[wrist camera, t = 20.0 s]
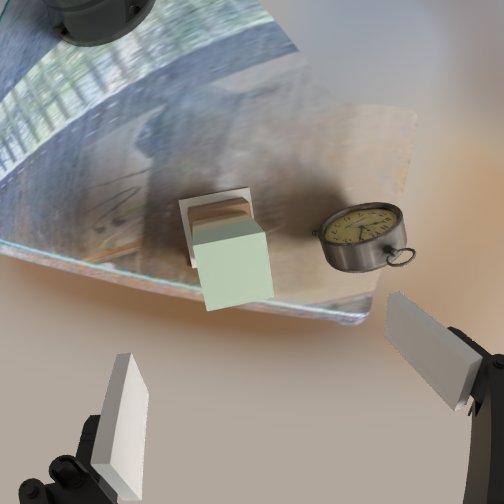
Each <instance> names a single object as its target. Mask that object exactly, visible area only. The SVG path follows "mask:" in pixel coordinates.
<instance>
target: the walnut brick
mask: <svg viewBox="0 0 504 504" xmlns="http://www.w3.org/2000/svg"><path fill="white" fill-rule="evenodd" d="M241 212H247V214H248V215H249V216H250V217H251V218H252V215H251V209H250V203H249V202H248V201H247V200H246V199H245V198H244V197H239V198H234V199H228V200H223V201H217V202H212V203H207V204H201V205H196V206H191V207H188V212H187V215H188V221H189V226H190V231H191V236H192V232H193V222H194V221H199V220H204V219H209V218H214V217H219V216H225V215H230V214H235V213H241Z"/></svg>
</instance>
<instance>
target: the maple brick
mask: <svg viewBox="0 0 504 504" xmlns="http://www.w3.org/2000/svg"><path fill="white" fill-rule="evenodd" d="M250 220H253V219H252V218H251V217H250V216H249V215H248V214H247V212H241V213H235V214H230V215H225V216H219V217H214V218H209V219H204V220H199V221H194V222H193V232H194V231H198V230H203V229H209V228H214V227H219V226H224V225H229V224H234V223H239V222H245V221H250Z"/></svg>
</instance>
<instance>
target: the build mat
mask: <svg viewBox="0 0 504 504" xmlns="http://www.w3.org/2000/svg"><path fill="white" fill-rule="evenodd" d="M239 197H244V198H245V199H246V200H247V201H248V202H249V203H250V209H251V215H252V219H253V220H254V215H253V209H252V202H251V196H250V189H249V187H247V188H242V189H236V190H230V191H225V192H219V193H214V194H208V195H203V196H198V197H193V198H188V199H183V200H179V206H180V211H181V216H182V221H183V226H184V231H185V236H186V240H187V245H188V250H189V254H190V259H191V263H192V268H196V267H197V264H196V260H195V255H194V251H193V244H192V236H191V231H190V226H189V221H188V215H187V212H188V207H191V206H196V205H201V204H207V203H212V202H217V201H223V200H228V199H234V198H239Z"/></svg>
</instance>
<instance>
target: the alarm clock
mask: <svg viewBox="0 0 504 504" xmlns="http://www.w3.org/2000/svg"><path fill="white" fill-rule="evenodd" d="M312 234H313V235H318V237H319V239H320V242H321V245H322V248H323V251H324V254H325V257H326V260H327V262H328V263H329V264H330V265H331V266H332V267H333V268H335V269H337V270H340V271H343V272H348V273H364V272H369V271H373V270H377V269H379V268H382V267H384V266H386V265H390V266H392V267H401V266H404V265H406V264H408V263H410V262H411V261H412V260H413V259H414V258H415V256H416V251H415V250H414V249H411V248H405V247H406V243H407V235H406V230H405V225H404V220H403V214H402V211H401V210H400V209H399V208H398V207H397V206H395V205H392V204H389V203H382V202H373V203H365V204H360V205H356V206H352V207H349V208H346V209H344V210H341V211H340V212H337V213H336V214H334V215H332V216H331V217H329V218H328V219H327V220H326V221H325V222H324V223H323V224H322V225H321V226H320V228H319V231H313V232H312ZM406 250H408V251H412V252H413V256H412V257H411V258H410V259H409V260H408V261H406V262H404V263H400V264H391V262H393V261H394V260H396V259H397V258H398V257H399V256H400V255H401V253H402V252H403V251H406Z"/></svg>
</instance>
